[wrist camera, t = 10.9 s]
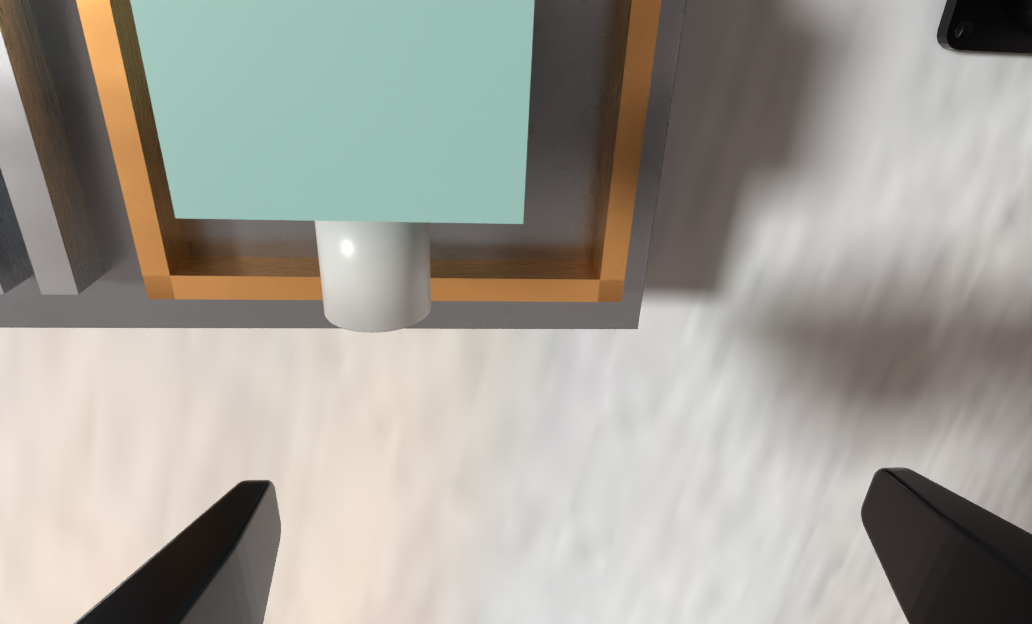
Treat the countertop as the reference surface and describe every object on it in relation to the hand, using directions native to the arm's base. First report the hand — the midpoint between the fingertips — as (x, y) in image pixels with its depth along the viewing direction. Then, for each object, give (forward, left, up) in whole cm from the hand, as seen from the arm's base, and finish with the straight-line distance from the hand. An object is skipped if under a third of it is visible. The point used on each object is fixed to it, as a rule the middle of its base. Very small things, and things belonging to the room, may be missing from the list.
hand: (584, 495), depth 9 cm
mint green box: (+3, -5, -8) cm, 10 cm away
